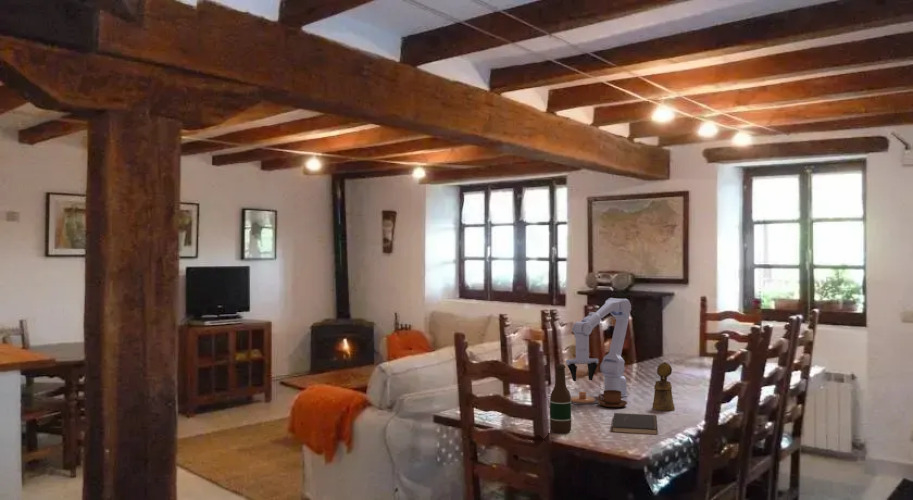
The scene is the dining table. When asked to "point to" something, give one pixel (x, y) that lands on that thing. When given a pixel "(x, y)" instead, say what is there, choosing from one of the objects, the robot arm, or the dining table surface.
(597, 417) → the dining table surface
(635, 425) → the hardcover book
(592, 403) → the coaster
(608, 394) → the cup and saucer
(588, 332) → the robot arm
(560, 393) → the beer bottle
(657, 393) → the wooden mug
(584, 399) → the lid
